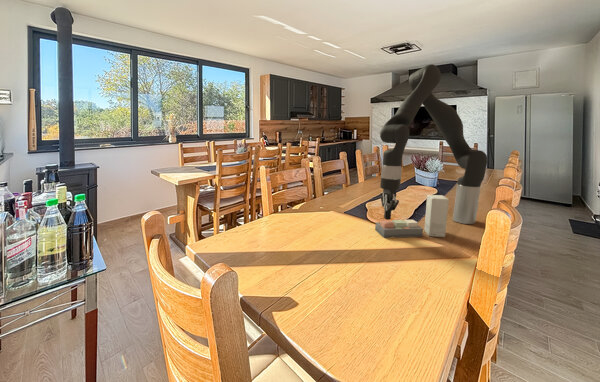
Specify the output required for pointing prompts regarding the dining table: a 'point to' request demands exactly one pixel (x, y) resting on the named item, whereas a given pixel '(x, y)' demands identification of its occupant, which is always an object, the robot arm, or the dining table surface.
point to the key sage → (399, 223)
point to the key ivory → (411, 223)
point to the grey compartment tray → (399, 231)
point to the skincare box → (436, 215)
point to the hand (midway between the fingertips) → (387, 219)
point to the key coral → (387, 224)
